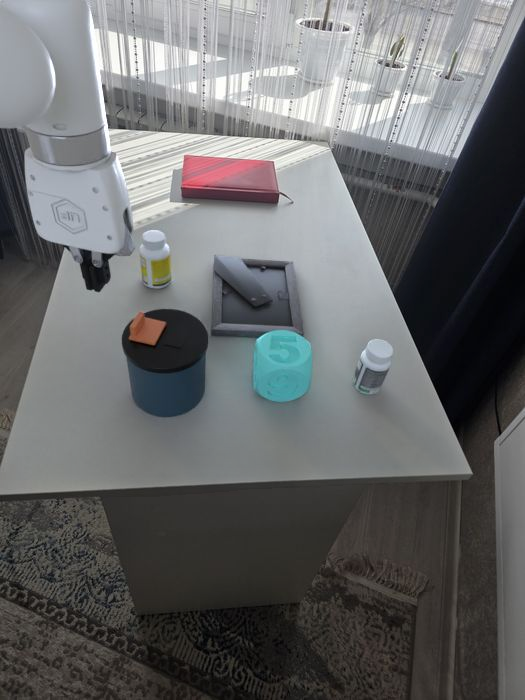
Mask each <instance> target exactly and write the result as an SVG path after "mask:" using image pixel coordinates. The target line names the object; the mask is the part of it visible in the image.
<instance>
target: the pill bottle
mask: <svg viewBox="0 0 525 700" xmlns="http://www.w3.org/2000/svg"><path fill="white" fill-rule="evenodd" d="M394 351H395V350H394V348H393V346H392V345H391V343H389V342H388V341H386V340H384V339H381V338H374V339H371V340H369V342H368V343H367V345H366V347H365V349H364V350H363V351H362V352H361V355H360V357H359V360H358V363H357V364H356V367H355V371H354V373H353V375H352V380H351V382H352V385H353V387H354V388H355V390H357V391H358V392H359V393H361V394H364V395H374V394H377V393H379V392H380V390H381V389H382V386H383V384H384V382H385V379H386V378H387V374H388V372H389V370H390V368H391V366H392V358H393V355H394V353H395V352H394Z"/></svg>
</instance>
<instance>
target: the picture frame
mask: <svg viewBox="0 0 525 700" xmlns="http://www.w3.org/2000/svg"><path fill="white" fill-rule="evenodd" d="M299 297H300V296H299V291H298V285H297V278H296V271H295V265H294V261H288V260H287V261H285V260H274V259H273V260H271V259H257V258H240V257H239V256H231V255H230V256H229V255H220V254H219V255H218V254H214V256H213V277H212V297H211V321H210V336H211V337H227V338H248V339H249V338H250V339H258V338H259V337H261V336H262V335H264V334H266V333H268V332H271V331H276V330H287V331H292V332H295V333H297V334H299V335H300V336H302V337H303V338H304V335H305V330H304V325H303V324H304V323H303V317H302V312H301V304H300V298H299Z"/></svg>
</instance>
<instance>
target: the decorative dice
mask: <svg viewBox="0 0 525 700" xmlns="http://www.w3.org/2000/svg"><path fill="white" fill-rule="evenodd" d="M253 352H254V353H253V362H252V363H253V365H252V387H253V390H254V391H255V392H256V393H257V394H258V395H259V396H261V397H262V398H264V399H266V400H269V401H272V402H276V403H284V402H292V401H294V400H297V399H299V398H300V397H303V395H305V394H306V393H308V391H309V389H310V386H311V382H312V376H313V375H312V373H313V351H312V346H311V343H310V342H309V340H307V339H306V338H305V337H304V336H303V337H302V336H300V335H299V334H297V333H295V332H292V331H287V330H276V331H271V332H268V333H266V334H264V335H262V336H261V337H259V338H256V340H255V343H254V349H253Z"/></svg>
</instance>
